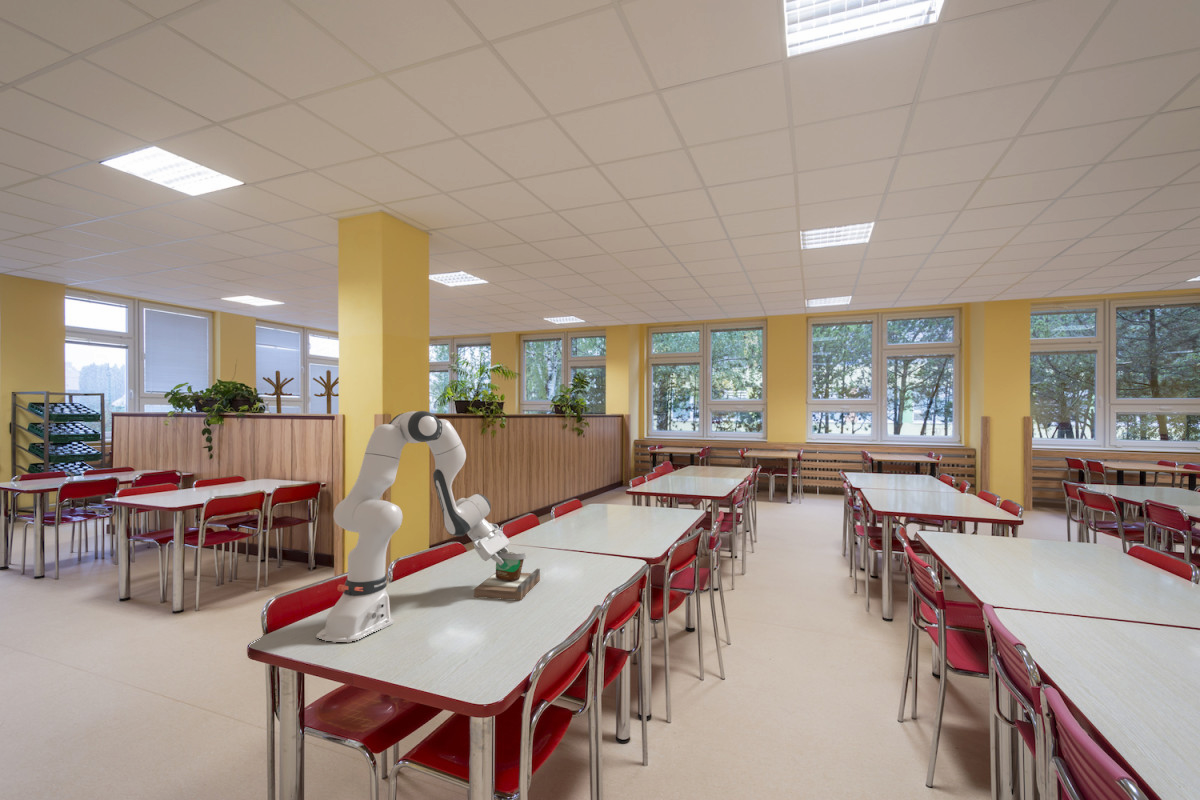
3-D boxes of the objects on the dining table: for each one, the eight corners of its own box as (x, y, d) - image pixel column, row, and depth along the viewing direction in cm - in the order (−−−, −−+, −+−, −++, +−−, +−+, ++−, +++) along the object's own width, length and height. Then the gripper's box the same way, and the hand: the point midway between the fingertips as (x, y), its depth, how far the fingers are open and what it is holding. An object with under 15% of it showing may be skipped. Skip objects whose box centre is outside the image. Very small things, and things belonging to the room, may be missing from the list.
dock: (520, 600, 181) (521, 586, 181) (473, 597, 184) (474, 583, 185) (539, 581, 203) (539, 568, 203) (497, 578, 206) (497, 566, 206)
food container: (486, 578, 191) (490, 550, 193) (492, 575, 197) (496, 548, 198) (517, 582, 189) (521, 555, 190) (522, 579, 195) (526, 553, 196)
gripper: (476, 534, 186) (501, 563, 184) (498, 523, 206) (521, 548, 204) (465, 546, 187) (490, 574, 184) (487, 534, 207) (510, 559, 204)
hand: (506, 561), depth 194 cm, fingers closed on food container, 6 cm apart
